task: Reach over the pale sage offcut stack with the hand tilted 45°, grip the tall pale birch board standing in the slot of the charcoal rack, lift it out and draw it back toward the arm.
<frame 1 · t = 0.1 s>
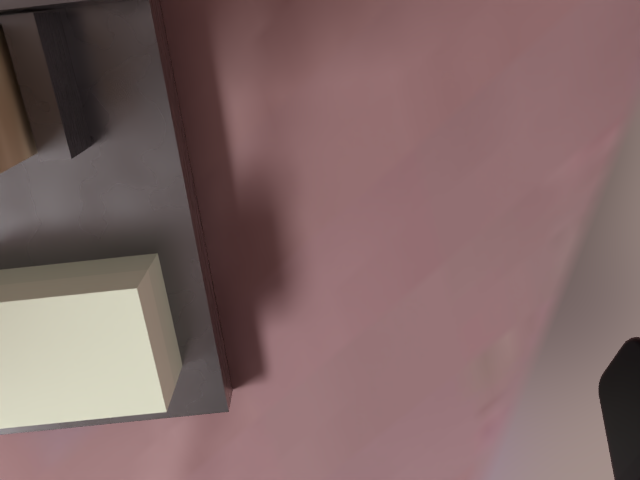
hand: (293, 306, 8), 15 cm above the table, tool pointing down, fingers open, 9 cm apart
birch board: (2, 89, 20), point 1 cm above the table, touching rack
rack: (58, 214, 23), on the table
offcut upper: (55, 341, 22), point 3 cm above the table, touching offcut lower
offcut lower: (70, 321, 23), point 1 cm above the table, touching offcut upper, rack
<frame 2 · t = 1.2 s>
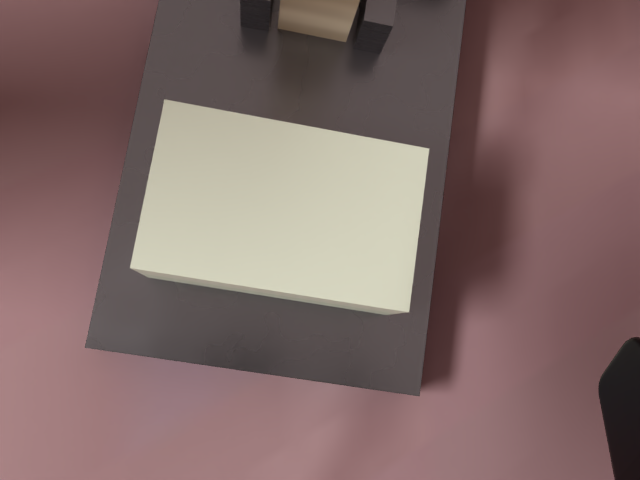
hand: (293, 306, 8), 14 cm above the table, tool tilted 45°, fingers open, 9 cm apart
rack: (295, 127, 22), on the table
offcut upper: (283, 215, 19), point 3 cm above the table, touching offcut lower
offcut lower: (280, 223, 20), point 1 cm above the table, touching offcut upper, rack
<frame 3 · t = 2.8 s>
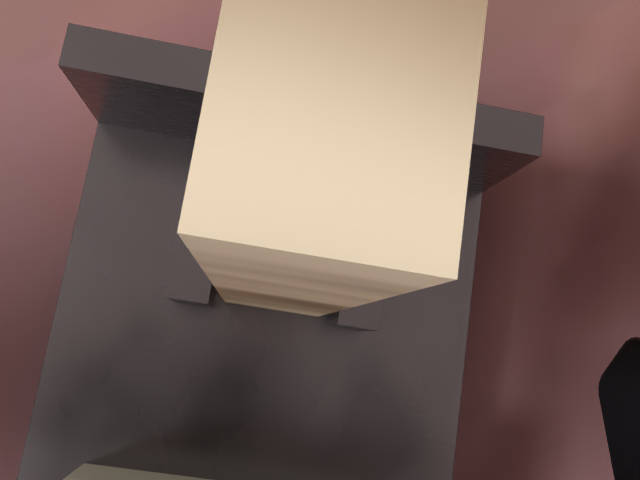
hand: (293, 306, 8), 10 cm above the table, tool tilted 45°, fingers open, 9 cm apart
birch board: (283, 237, 16), point 1 cm above the table, touching rack
rack: (252, 415, 17), on the table
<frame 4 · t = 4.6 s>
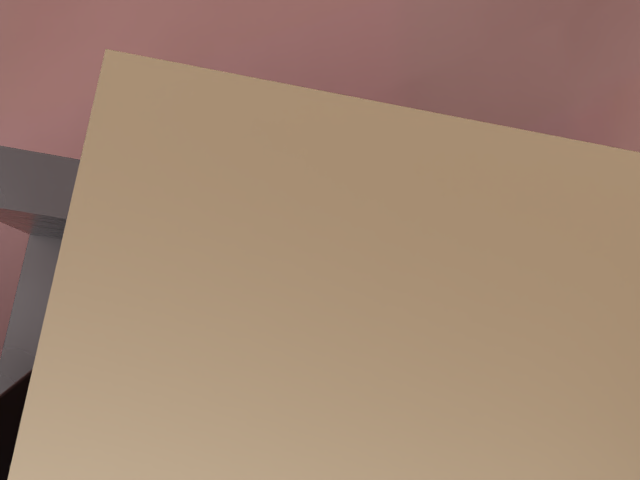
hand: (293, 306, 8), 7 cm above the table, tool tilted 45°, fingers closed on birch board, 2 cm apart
birch board: (264, 379, 13), point 2 cm above the table, touching gripper, rack
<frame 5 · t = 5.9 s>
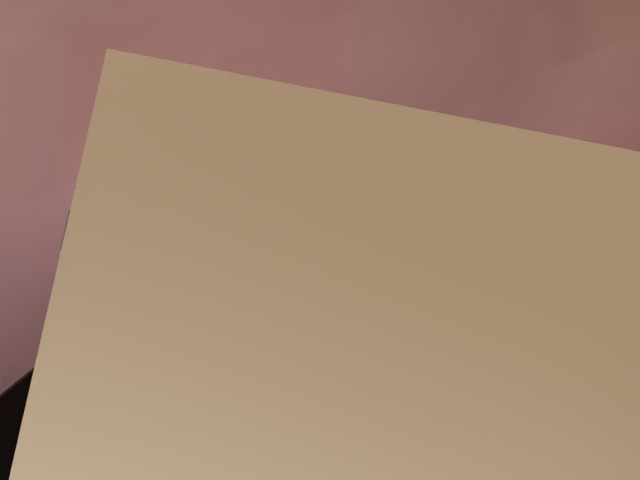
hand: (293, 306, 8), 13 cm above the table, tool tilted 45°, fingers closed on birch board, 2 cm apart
birch board: (264, 379, 13), point 7 cm above the table, touching gripper
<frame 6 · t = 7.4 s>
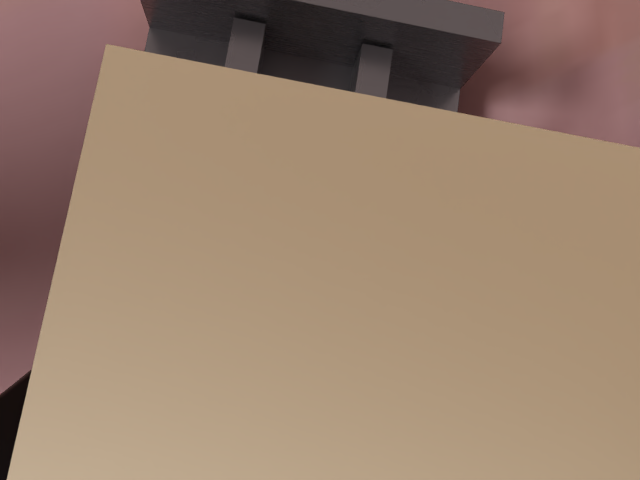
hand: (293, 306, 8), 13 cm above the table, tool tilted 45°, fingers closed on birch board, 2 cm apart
birch board: (264, 378, 13), point 8 cm above the table, touching gripper
rack: (273, 268, 21), on the table
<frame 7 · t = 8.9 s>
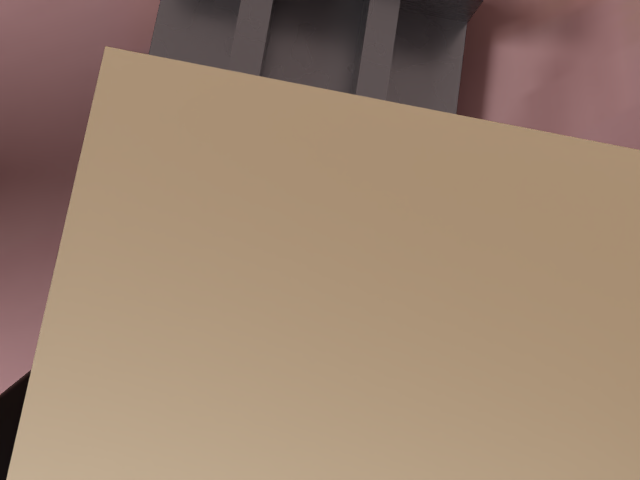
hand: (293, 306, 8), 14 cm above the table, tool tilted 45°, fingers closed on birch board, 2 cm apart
birch board: (264, 379, 13), point 8 cm above the table, touching gripper
rack: (286, 195, 22), on the table
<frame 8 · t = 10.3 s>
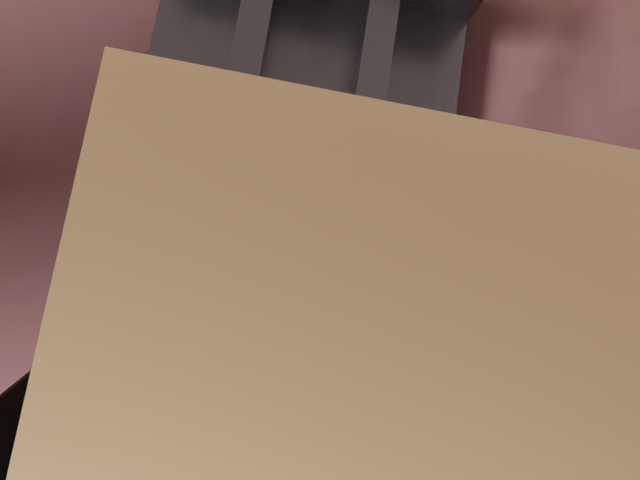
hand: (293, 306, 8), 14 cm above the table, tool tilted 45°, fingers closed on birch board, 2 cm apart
birch board: (264, 379, 13), point 8 cm above the table, touching gripper
rack: (286, 195, 22), on the table
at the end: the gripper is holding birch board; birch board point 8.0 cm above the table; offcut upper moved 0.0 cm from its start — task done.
